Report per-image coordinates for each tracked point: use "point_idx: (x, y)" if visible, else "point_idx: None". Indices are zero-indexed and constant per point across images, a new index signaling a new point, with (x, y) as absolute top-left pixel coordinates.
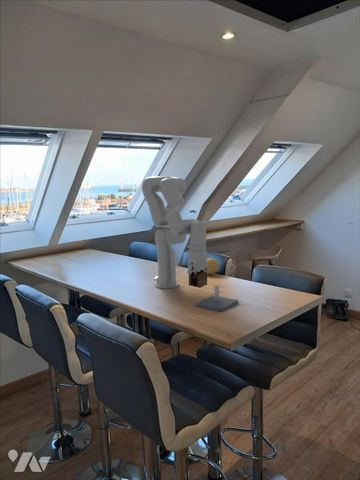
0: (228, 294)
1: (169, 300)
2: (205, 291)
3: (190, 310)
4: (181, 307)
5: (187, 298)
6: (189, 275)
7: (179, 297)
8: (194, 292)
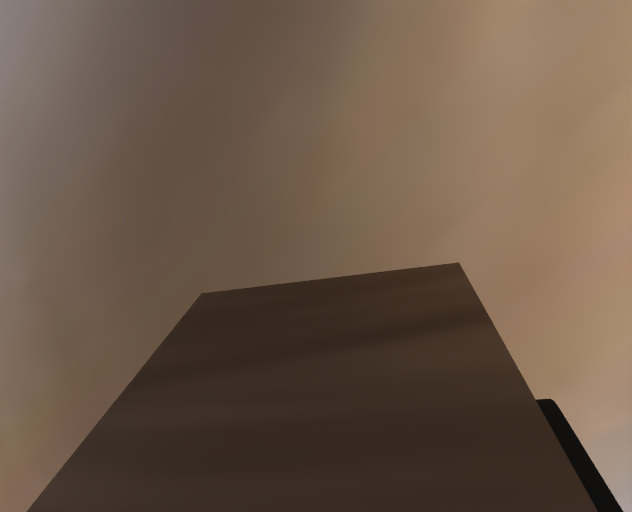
0: (629, 464)
1: (22, 130)
2: (605, 200)
3: (55, 462)
4: (29, 374)
5: (225, 235)
6: (80, 483)
7: (177, 131)
8: (473, 114)
